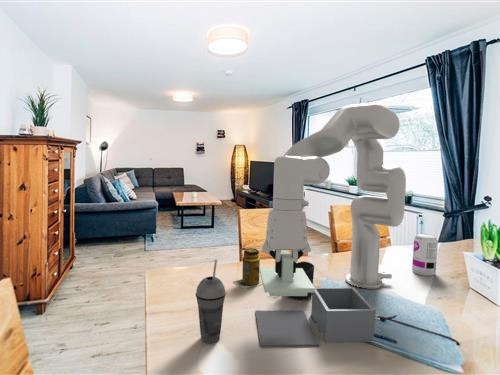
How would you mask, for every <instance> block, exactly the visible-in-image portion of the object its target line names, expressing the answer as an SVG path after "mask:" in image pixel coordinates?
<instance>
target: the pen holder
mask: <svg viewBox="0 0 500 375" xmlns="http://www.w3.org/2000/svg"><path fill="white" fill-rule="evenodd" d="M296 268H302V269H303V270H304V272H305V274H306V275H307V277H308V278H309V280H310V281H311V283H312V284H313V285H314V278H315V277H314V276H315V265H314V264H313V263H311V262H310V261H299V262H296ZM286 297H288V298H289V299H292V300H294V301H307V300H310V299H311V298H312V292H308V294H307V296H286Z"/></svg>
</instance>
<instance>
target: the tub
mask: <svg viewBox="0 0 500 375" xmlns="http://www.w3.org/2000/svg"><path fill="white" fill-rule="evenodd" d="M314 288H315V292H312V296H311V313H310V314H311V316H313V317H312V319H313V318H314V319H313V321H314V320H315V321H314V322H316V323H315V324H316V327H317V328H318V331H319V332H320V335H321V336H322V338H323V341H324V343H369V341H374V340H375V325H376V324H375V322H376V309H375V308H374V307H373V306H372V305H371V304H370V303H369V302H368V301H367V300H366V299H365V297H364V296H363V295H362V294H361V293H360V292H359V291H358V290H357V289H356V288H355V286H346V287H345V286H342V287H341V286H333V287H331V286H328V287H327V286H326V287H322V286H321V287H318V286H317V287H316V286H314Z"/></svg>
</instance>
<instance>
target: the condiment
mask: <svg viewBox="0 0 500 375" xmlns="http://www.w3.org/2000/svg"><path fill="white" fill-rule="evenodd" d="M259 253H260V252H259V249H257V248H250V247H249V248H245V249H244V250H243V258H242V276H241V277H242V279H239V280H237V279H236V280H233V281H232V282H233V283H235V284H236V285H237V286H238V287H240V288H242V289H244V290H245V289H250V288H253V287H258V286H263V283H262V281H260V268H261V267H260V266H261V265H260V264H261V259H260V254H259Z"/></svg>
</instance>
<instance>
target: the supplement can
mask: <svg viewBox="0 0 500 375" xmlns="http://www.w3.org/2000/svg"><path fill="white" fill-rule="evenodd" d="M438 245H439V241H438V238H437V236H436V235H434V234H428V233H417V234H416V235H415V236H414V238H413V249H412V250H413V251H412V262H411V269H412V270H411V271H413V272H414V273H415V274H417V275H419V276H426V277H431V276H434V275H435V274H436V272H437V271H436V270H437V259H438V249H439V248H438Z"/></svg>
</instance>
